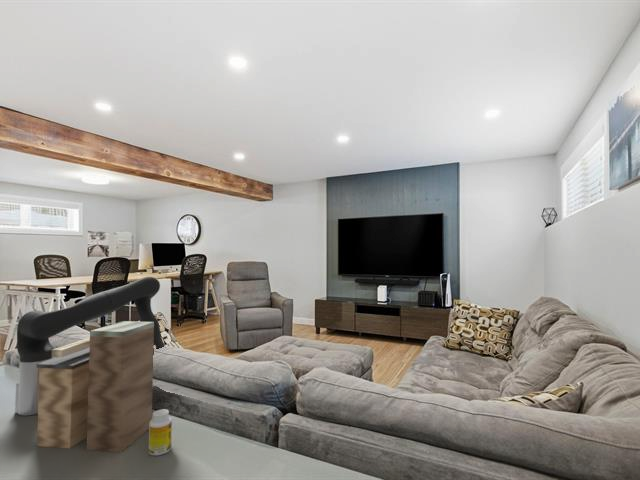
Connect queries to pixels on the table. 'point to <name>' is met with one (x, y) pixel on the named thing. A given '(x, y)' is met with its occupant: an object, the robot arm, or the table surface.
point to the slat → (71, 348)
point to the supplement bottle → (160, 432)
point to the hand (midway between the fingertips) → (103, 332)
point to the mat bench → (63, 400)
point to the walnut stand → (119, 384)
